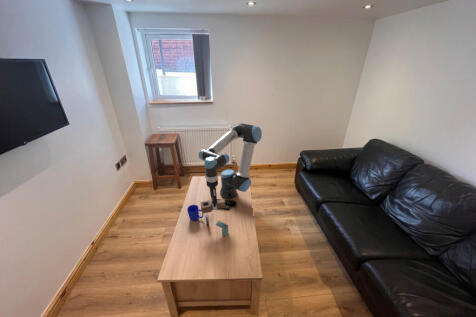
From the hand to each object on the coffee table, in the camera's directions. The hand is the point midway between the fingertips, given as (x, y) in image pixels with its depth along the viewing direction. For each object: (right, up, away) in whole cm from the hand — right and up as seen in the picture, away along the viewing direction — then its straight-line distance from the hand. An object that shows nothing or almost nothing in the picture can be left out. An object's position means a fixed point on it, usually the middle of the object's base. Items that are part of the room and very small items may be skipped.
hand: (214, 207), depth 136 cm
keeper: (+6, -17, -1) cm, 18 cm away
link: (-1, -1, 0) cm, 1 cm away
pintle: (-5, -14, +5) cm, 16 cm away
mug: (-15, -11, +11) cm, 22 cm away
